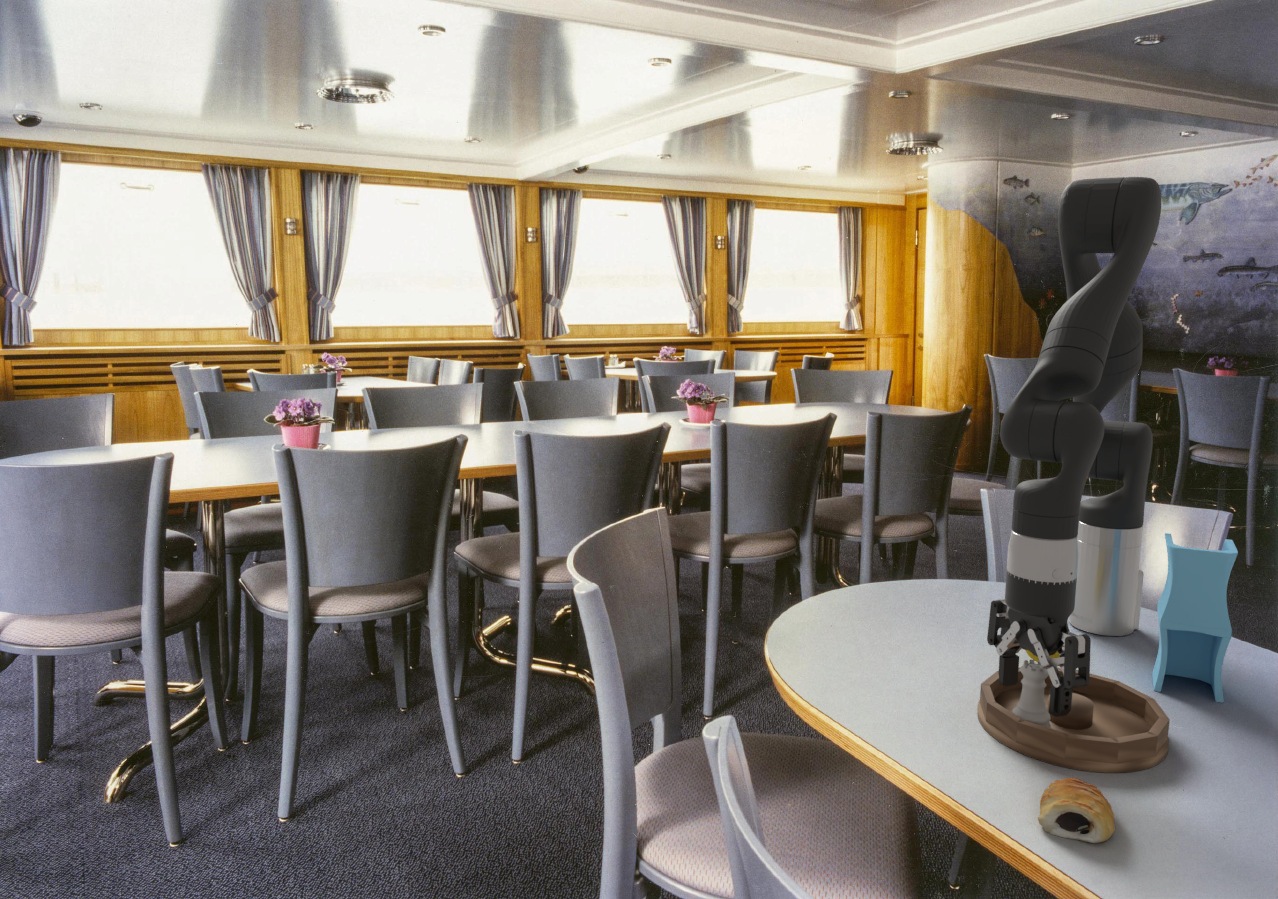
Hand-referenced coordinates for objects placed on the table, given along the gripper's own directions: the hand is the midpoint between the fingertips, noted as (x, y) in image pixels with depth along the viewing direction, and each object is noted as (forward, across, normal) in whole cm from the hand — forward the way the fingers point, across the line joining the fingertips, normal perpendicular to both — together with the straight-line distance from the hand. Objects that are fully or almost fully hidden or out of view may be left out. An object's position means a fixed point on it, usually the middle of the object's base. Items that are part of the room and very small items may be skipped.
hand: (1032, 698), depth 104 cm
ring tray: (+4, 0, -6) cm, 7 cm away
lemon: (+5, +16, -16) cm, 23 cm away
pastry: (+5, -16, +8) cm, 19 cm away
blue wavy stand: (+5, +5, -30) cm, 30 cm away
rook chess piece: (+4, 0, 0) cm, 4 cm away
